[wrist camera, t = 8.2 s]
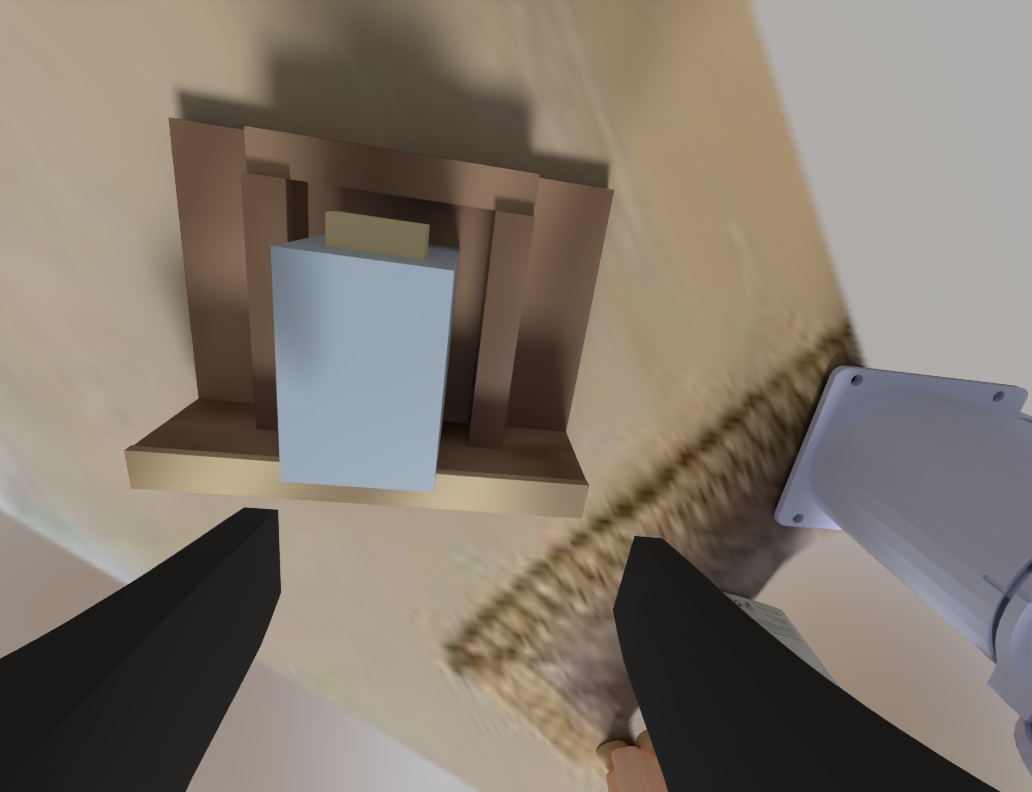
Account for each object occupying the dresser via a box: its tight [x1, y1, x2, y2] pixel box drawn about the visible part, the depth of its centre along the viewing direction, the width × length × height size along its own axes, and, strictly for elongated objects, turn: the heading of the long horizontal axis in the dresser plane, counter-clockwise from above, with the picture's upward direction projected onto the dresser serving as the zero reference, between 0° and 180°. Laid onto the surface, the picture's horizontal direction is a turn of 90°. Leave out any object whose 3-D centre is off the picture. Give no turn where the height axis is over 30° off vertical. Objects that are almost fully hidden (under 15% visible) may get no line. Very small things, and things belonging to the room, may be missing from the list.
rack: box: [124, 118, 614, 518], centre depth 16 cm, size 14×10×5 cm
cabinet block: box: [271, 211, 460, 492], centre depth 14 cm, size 4×7×6 cm, turn 172°
